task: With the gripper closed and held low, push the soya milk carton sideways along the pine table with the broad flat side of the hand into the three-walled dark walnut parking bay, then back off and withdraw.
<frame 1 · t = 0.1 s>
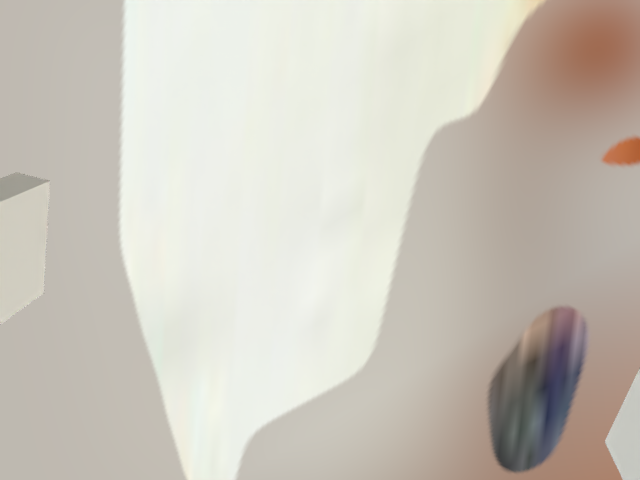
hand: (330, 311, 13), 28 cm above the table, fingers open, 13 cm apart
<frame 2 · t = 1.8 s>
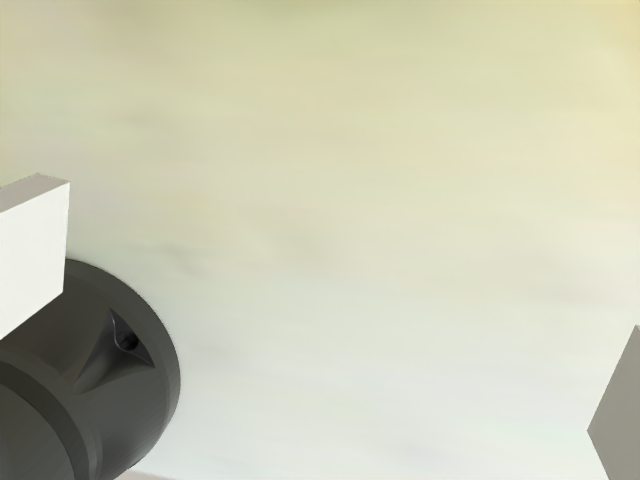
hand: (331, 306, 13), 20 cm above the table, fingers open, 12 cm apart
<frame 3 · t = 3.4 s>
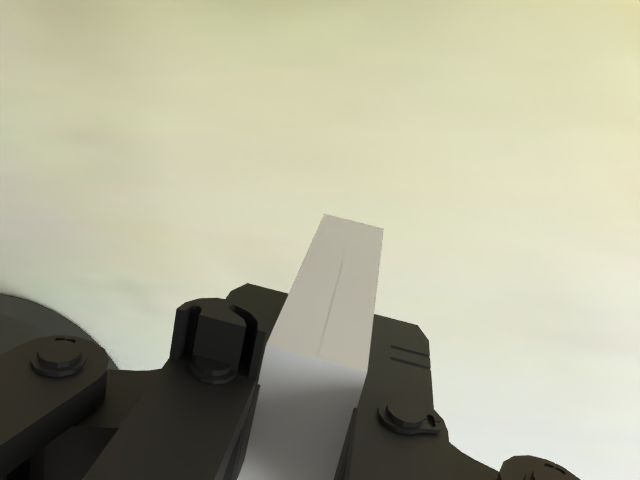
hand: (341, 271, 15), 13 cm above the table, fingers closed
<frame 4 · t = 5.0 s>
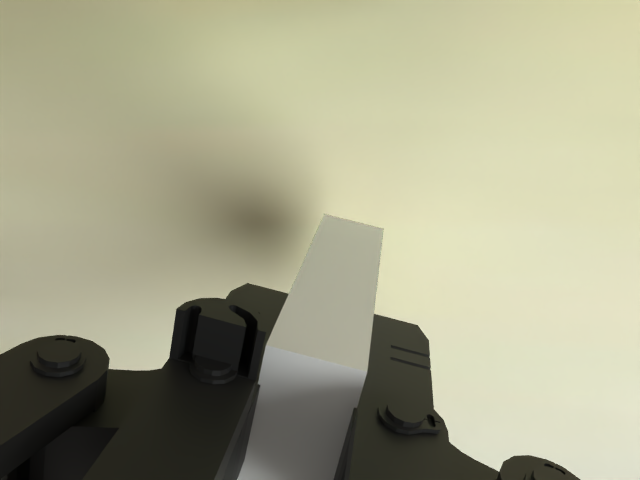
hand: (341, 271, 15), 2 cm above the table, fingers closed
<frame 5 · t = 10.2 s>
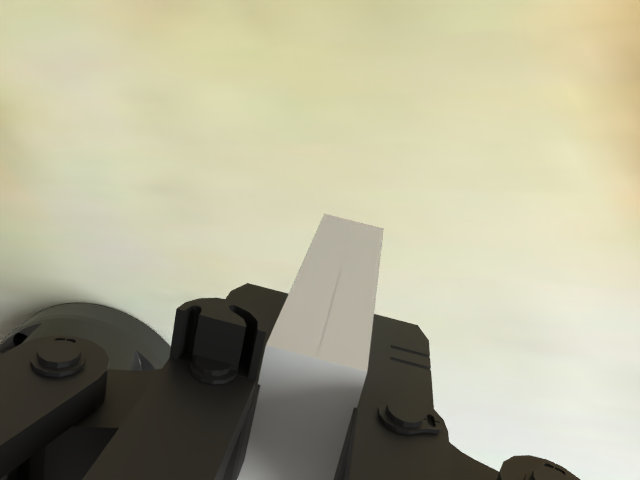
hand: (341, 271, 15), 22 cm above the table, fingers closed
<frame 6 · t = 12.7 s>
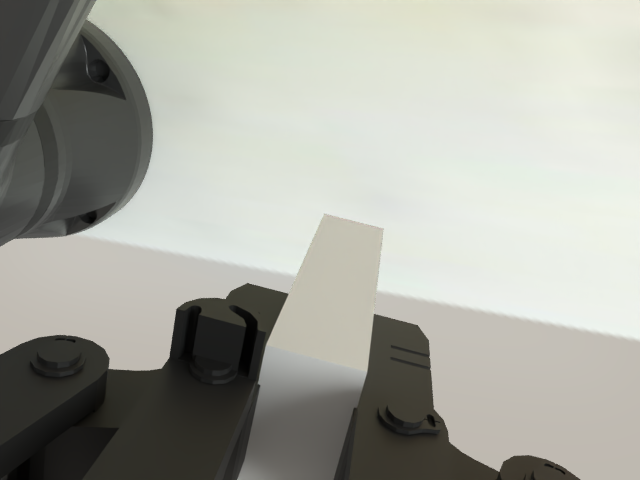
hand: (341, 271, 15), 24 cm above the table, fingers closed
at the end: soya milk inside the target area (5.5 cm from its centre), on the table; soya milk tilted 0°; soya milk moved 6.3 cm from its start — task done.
